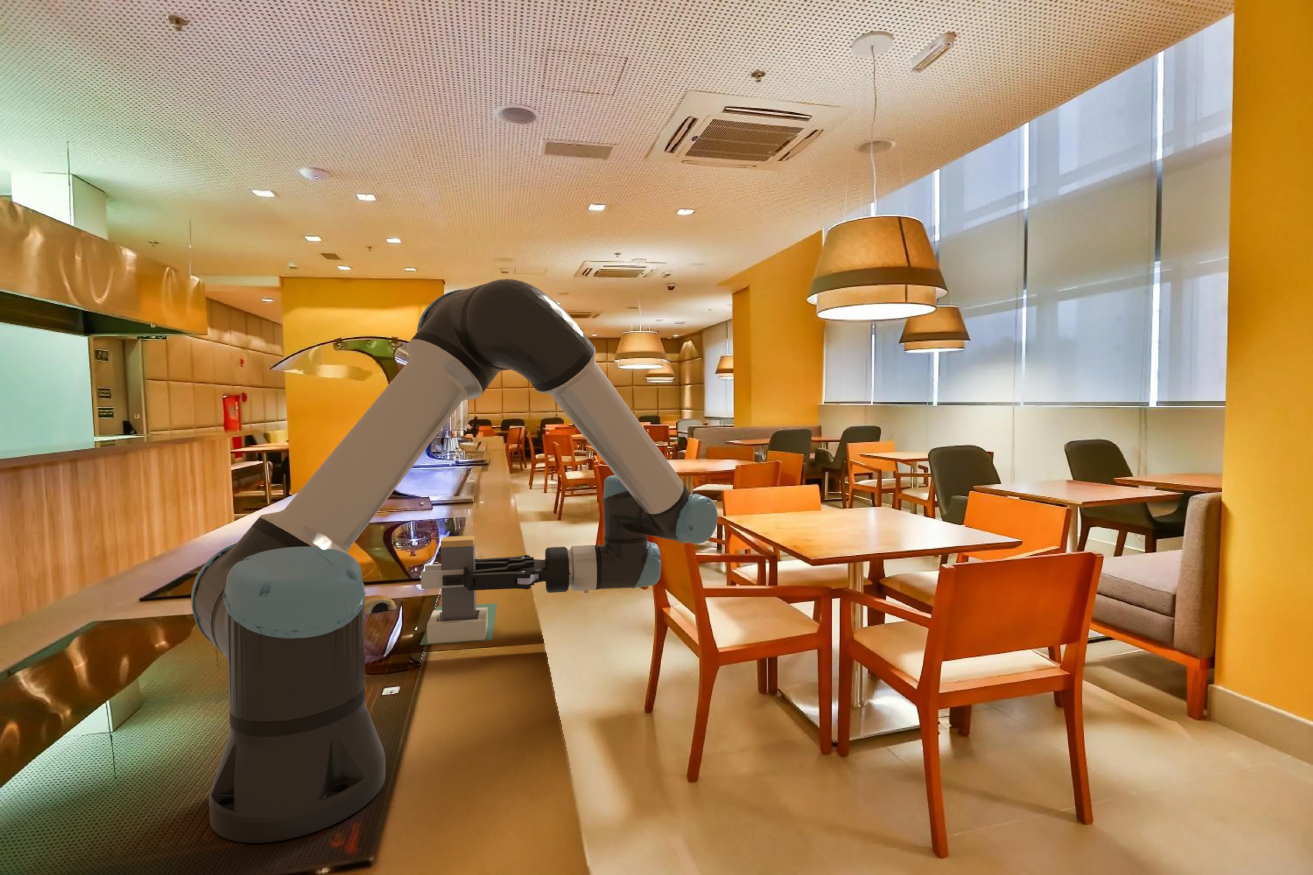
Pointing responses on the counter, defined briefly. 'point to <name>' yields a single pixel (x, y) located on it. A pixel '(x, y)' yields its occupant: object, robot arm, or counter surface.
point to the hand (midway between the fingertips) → (423, 576)
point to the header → (457, 628)
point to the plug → (453, 557)
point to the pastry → (378, 604)
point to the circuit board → (490, 626)
